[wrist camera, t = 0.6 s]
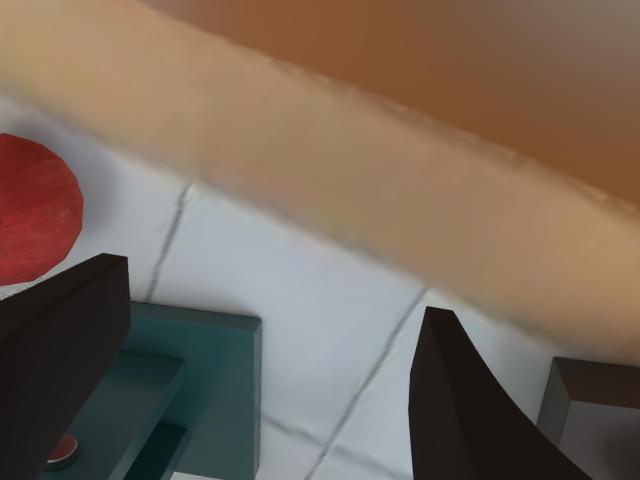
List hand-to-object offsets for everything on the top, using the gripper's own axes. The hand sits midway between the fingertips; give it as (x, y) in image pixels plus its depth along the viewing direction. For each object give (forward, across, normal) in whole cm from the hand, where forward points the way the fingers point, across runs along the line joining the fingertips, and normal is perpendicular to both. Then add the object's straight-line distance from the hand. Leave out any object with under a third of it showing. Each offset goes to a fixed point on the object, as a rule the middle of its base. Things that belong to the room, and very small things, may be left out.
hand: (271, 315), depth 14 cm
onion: (+11, +12, +3) cm, 17 cm away
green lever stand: (+10, +7, +13) cm, 18 cm away
